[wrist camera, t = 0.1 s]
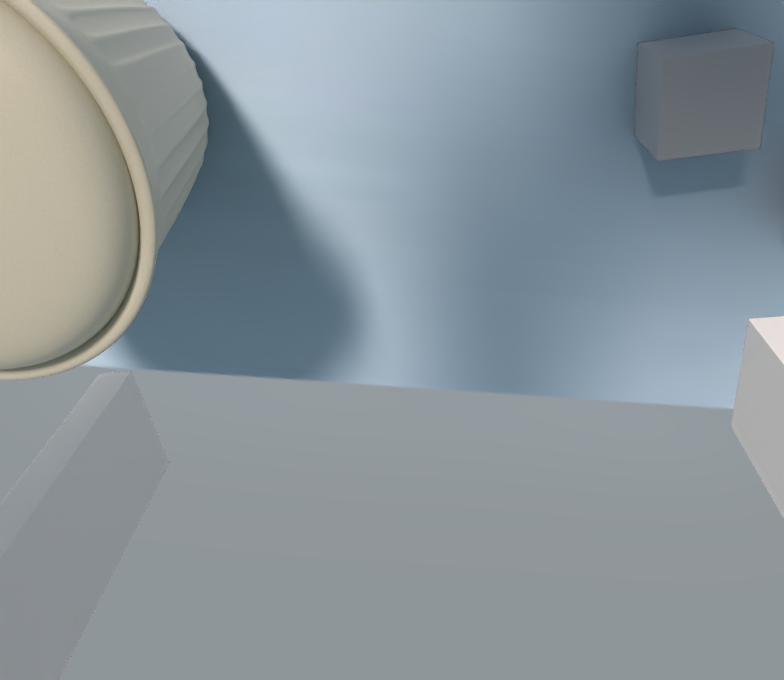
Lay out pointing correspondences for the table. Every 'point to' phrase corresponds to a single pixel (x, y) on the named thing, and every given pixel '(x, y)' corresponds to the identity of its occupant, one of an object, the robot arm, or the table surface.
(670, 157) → the slate grey block
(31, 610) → the robot arm
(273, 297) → the table surface
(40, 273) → the canister
